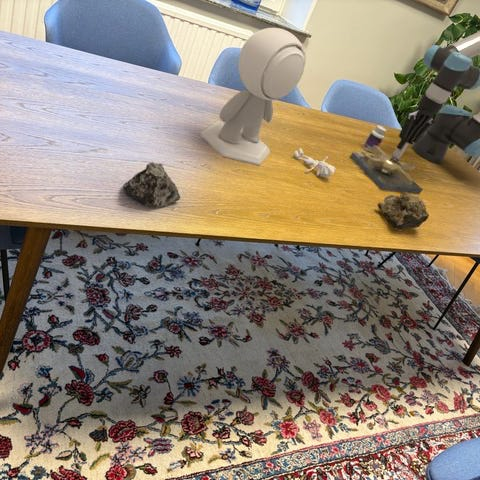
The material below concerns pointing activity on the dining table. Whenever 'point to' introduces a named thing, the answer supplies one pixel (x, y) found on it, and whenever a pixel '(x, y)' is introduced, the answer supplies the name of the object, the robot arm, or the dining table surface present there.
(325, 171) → the figurine
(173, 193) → the rock
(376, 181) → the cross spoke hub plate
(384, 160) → the four spoke knob plate
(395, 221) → the mineral specimen
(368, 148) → the pill bottle
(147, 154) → the dining table surface
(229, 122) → the big headed doll
